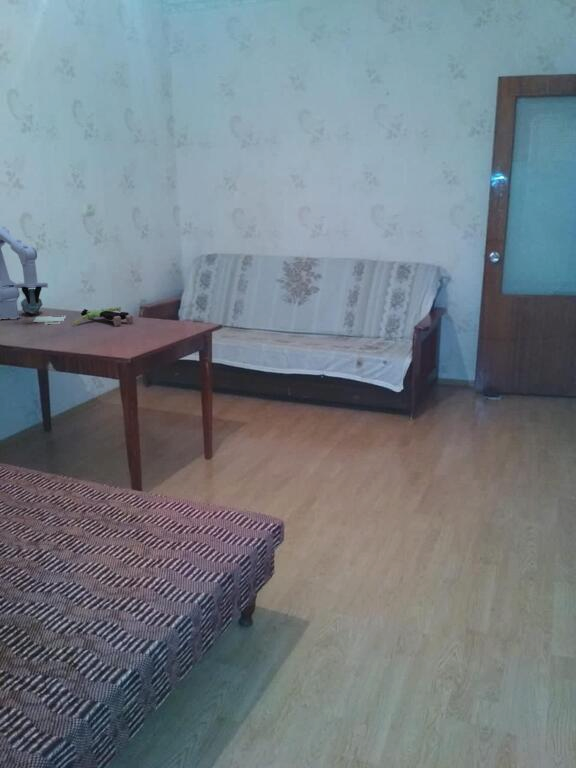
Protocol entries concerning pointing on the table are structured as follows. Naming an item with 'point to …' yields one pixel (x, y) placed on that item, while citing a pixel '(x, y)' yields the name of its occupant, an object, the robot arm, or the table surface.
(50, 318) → the paper
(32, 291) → the marker
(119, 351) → the table surface
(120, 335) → the table surface
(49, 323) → the plate
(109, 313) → the toy
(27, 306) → the rock
